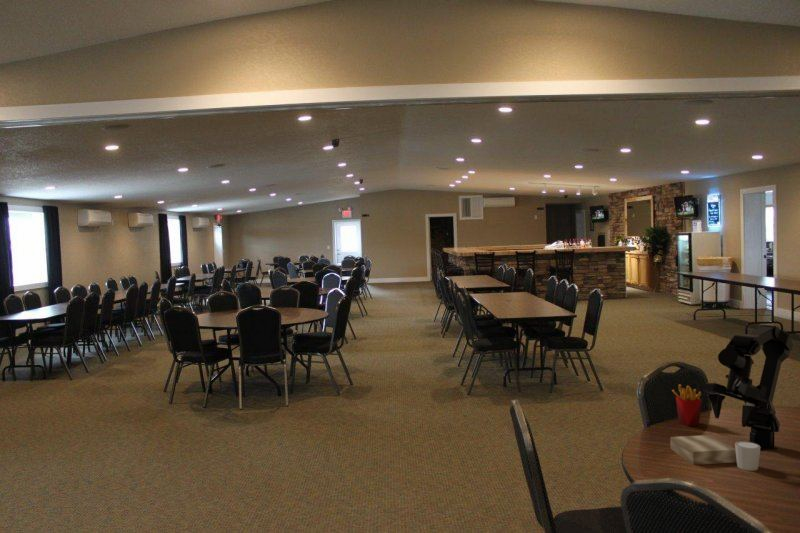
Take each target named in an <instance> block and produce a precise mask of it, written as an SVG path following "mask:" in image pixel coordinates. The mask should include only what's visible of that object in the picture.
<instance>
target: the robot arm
mask: <svg viewBox="0 0 800 533" xmlns="http://www.w3.org/2000/svg"><path fill="white" fill-rule="evenodd" d="M761 346H762V352H763V354H764V357H765V359H764V364H763V369H762V372H761V377H760V379H759V380H760V381H759V384H758V385H753V379H752V378H750V377H751V372H752V366H753V365H755V362H754V360H753V359H752V356H755V355H757V354H758V353H759V352H760V350H761ZM793 347H794V343H793V340H792V339H791V337H790V335H788V334H787V333H785V332H784V331H782V330H781V329H780V327H779V326H776V325H770V324H769V325H768V324H763V325H760V327H759V328H756V329H755V330H753V331H751V332H749V333H744V334H743V333H742V334H741V333H739V334H735V335H733V337H732V338H731V339H730V341H729V342H728V344H727V345H726V347H725V348H723V349H722V350H720V352H719V353H718V355H717V360H718V362H719V363H720V364H721V365H722V366H724V367H725V368H727V369H728V370H729V372H728V374H725V379H727V383H726V386H725V385H723V384H720V383H716V382H705V384H704V385H703V388H702V391H703V392H705V395H706V396H708V399H709V401H710V404H711V406H712V407H711V408H712V410H713V415H714V418H715V419H719V418H720V414H721V412H722V411H721V410H722V404H723V401H724V400H725V399H726V396H727V397H730V398H733V399H736V400H738V401H741V402H744V404H742V408H741V409H742V410H741V427H743V428H750V431H749V442H751V443H755V444H758V445H759V446H760V451H761V450H778V449H779V447H778V446H776V445H775V434H776V433H779V432H780V427H781V426H780V424H781V423H780V421H779V419H778V418H777V414H776V413H777V411H776V409H775V407H774V404H773V400H774V396H775V392H776V389H777V388H776V387H777V384H778V378H779V374H780V370H781V365H782V363H783V362H784V361H785V360H786V359H788V358H789V356H790V354H791V351H792V350H793Z"/></svg>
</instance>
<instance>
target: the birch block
mask: <svg viewBox="0 0 800 533" xmlns="http://www.w3.org/2000/svg"><path fill="white" fill-rule="evenodd" d="M669 439H670V448H669V449H670V450H672V451H673V452H674V453H675V454H677V455H678V456H680V457H682V458H683V459H684V460H686V461H687V462H689V463H690V464H692V465H695V466H696V465H710V464H711V465H712V464H727V463H731V464H732V463H734V464H735V463H737V460H736V450H735V448H734V447H732V446H730V445H729V444H727V443H725V442H724V441H722V440H720V439H718V438H717V437H715V436H713V435H711V434H704V435H702V434H701V435H685V436H684V435H683V436H670V438H669Z"/></svg>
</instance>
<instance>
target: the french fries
mask: <svg viewBox="0 0 800 533" xmlns="http://www.w3.org/2000/svg"><path fill="white" fill-rule="evenodd" d="M671 392H672V393H673V394H674V395H675V403H676V412H677V420H678V424H681V425H683V426H686V427H694V426H695V427H696V425H697V426H699V425H700V417H701V412H702V411H701V410H702V404H703V403H702V402H703V400H702V399H701V398H700V397H701V396H702V391H698V393H696V392H697V389H696V388H694V389H692V387H690V385H686V388H685V387H682V384H678V392H679V394H680V395H679V394H678V393H677V392H676V391H675V389H672V390H671Z"/></svg>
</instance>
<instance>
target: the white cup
mask: <svg viewBox="0 0 800 533" xmlns="http://www.w3.org/2000/svg"><path fill="white" fill-rule="evenodd" d="M734 447H735V448H734V449H735V450H736V466H737V468H739V469H741V470H745V471H749V472H750V471H751V472H752V471H757V470H758V469H759V464H760V463H759V462H760V454H761V450H760V446H759V445H758V444H755V443H751V442H750V441H742V440H740V441H736V442H735V443H734Z"/></svg>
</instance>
